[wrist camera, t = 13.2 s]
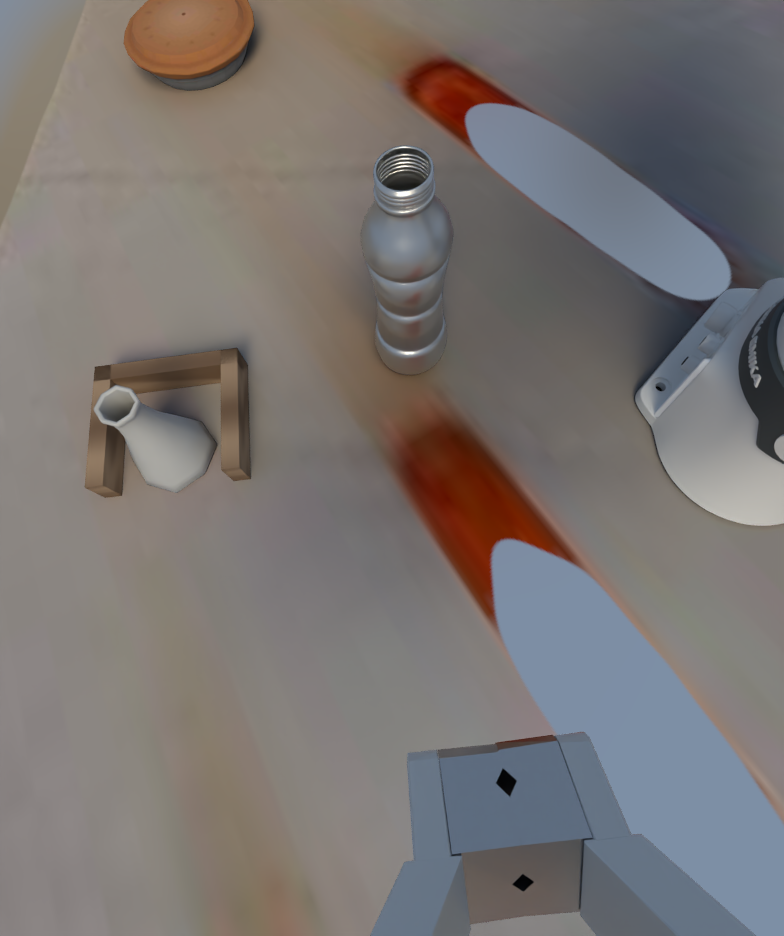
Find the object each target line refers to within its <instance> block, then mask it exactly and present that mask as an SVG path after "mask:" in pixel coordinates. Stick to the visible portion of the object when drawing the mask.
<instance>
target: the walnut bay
mask: <svg viewBox="0 0 784 936" xmlns="http://www.w3.org/2000/svg"><path fill="white" fill-rule="evenodd" d="M213 383H221V470H222V471H223V472H224V473H226V474H227V475H228V476H229V477H230V478H231V479H232V480H233V481H238V480H245V479H251V476H250V439H249V401H248V365H247V363H246V362H245V360H244V358H243V357H242V355H241V354H240V352H239V350H238V349H237V348H232V349H225V350H217V351H210V352H202V353H195V354H187V355H180V356H172V357H165V358H158V359H150V360H143V361H135V362H128V363H120V364H113V365H105V366H98V367H95V372H94V384H93V395H92V407H91V419H90V431H89V443H88V455H87V466H86V478H85V488H87V489H89V490H91V491H93V492H95V493H97V494H99V495H101V496H103V497H105V498H106V497H114V496H122V485H123V468H124V451H125V438H124V436H123V435H122V434H121V432H120V431H119V430H118V429H117V428H115V427H114V426H110V425H107V424H103V423H102V422H101V421H100V420H99V418H98V416H97V415H96V413H95V412H94V410H93V409H94V407H95V405H96V403H97V401H98V399H99V397H100V395H101V394H102V393H104V392H105V391H107V390H108V389H110V388H112V387H113V386H115V385H119V386H123V387H127V388H131V389H132V390H133V391H134V392H135V394H138V393H145V392H153V391H160V390H168V389H175V388H183V387H191V386H198V385H206V384H213Z"/></svg>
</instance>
